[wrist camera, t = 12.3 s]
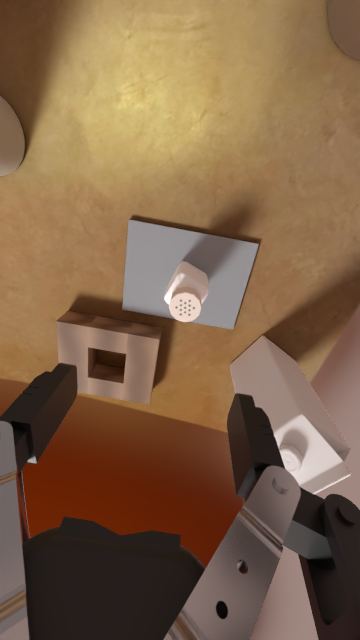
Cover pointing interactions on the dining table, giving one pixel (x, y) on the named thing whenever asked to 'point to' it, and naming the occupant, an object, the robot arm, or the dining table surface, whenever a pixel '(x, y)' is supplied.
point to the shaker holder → (117, 336)
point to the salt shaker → (186, 292)
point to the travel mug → (10, 139)
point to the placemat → (200, 251)
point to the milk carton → (292, 415)
